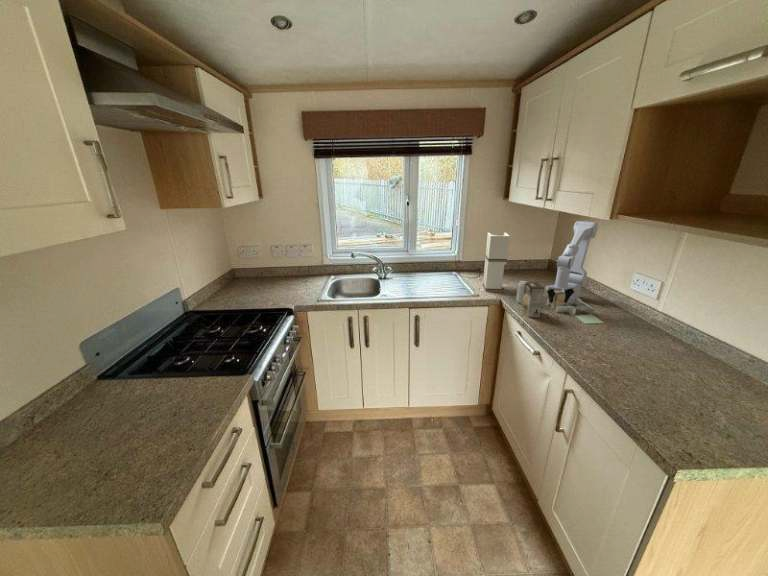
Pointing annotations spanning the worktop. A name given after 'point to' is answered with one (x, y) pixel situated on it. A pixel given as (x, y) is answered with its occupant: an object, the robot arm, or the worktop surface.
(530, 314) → the coffee box
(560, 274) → the robot arm
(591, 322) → the end pad
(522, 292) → the beverage can
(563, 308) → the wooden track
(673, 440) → the worktop surface
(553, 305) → the birch block
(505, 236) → the tall white stacked column
